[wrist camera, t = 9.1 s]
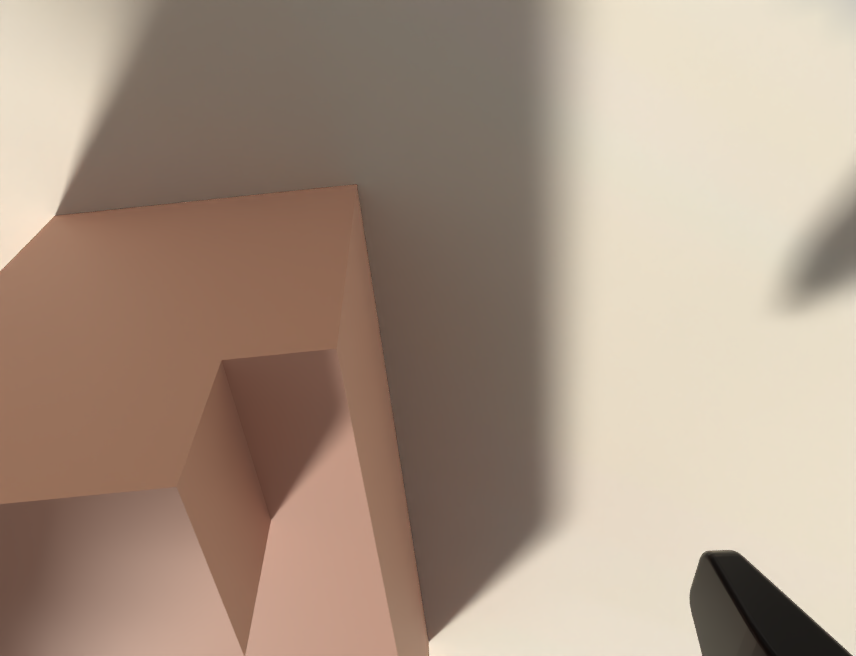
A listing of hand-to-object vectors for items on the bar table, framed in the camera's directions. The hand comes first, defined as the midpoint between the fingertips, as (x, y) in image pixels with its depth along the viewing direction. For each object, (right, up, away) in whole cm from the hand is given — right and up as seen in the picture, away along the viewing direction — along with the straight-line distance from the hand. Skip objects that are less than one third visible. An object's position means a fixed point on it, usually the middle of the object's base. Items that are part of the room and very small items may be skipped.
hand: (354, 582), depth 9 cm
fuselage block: (-2, +1, +3) cm, 4 cm away
